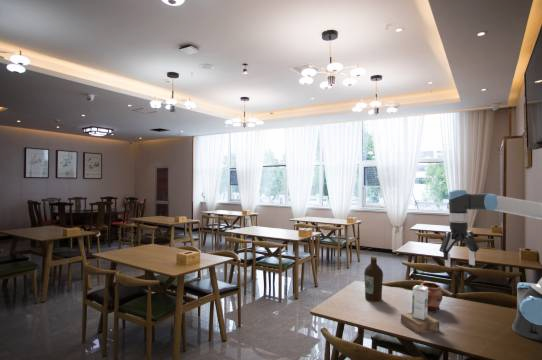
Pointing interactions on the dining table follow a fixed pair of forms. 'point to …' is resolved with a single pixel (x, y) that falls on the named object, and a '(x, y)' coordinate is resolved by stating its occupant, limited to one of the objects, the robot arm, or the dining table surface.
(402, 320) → the walnut block
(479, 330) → the dining table surface
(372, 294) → the olive oil
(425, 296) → the syrup box
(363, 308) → the dining table surface
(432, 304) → the decorative planter
